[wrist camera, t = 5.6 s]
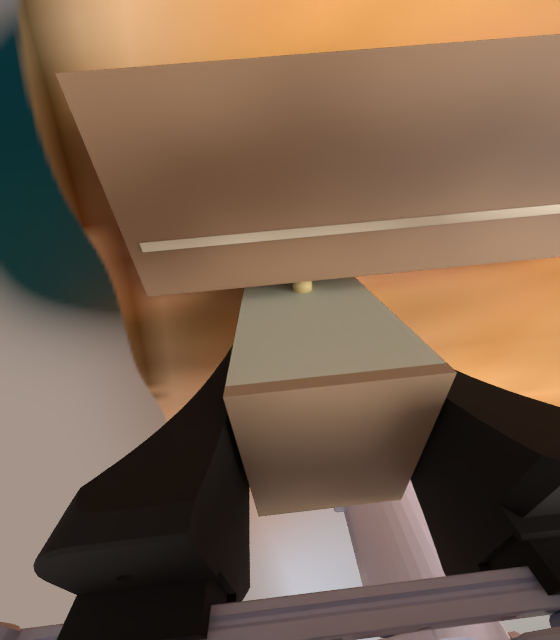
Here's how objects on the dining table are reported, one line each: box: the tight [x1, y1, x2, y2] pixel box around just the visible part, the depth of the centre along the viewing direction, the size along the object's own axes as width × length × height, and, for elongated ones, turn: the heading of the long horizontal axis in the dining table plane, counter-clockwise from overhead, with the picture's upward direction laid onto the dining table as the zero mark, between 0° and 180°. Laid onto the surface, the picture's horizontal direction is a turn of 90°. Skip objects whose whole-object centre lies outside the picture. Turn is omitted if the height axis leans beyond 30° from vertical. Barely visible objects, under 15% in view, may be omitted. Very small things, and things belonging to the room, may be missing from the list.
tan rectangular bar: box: [55, 34, 560, 297], centre depth 8 cm, size 6×20×3 cm, turn 94°
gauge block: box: [223, 277, 457, 516], centre depth 9 cm, size 6×5×7 cm
